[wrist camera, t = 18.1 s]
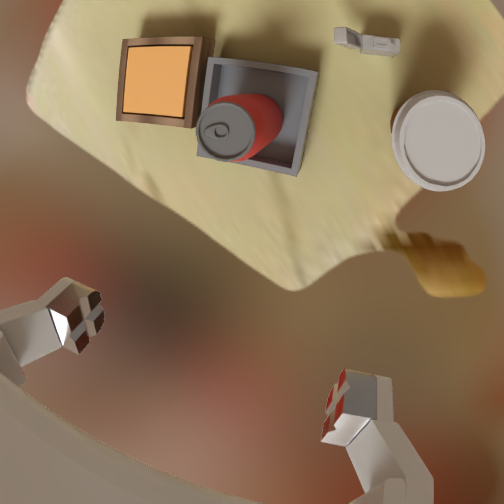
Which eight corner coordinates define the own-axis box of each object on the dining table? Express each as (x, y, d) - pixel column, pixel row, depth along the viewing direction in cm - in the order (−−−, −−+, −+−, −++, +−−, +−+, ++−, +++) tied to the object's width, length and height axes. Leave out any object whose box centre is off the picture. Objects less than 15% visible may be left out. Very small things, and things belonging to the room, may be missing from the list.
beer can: (231, 93, 36) (188, 97, 25) (284, 93, 34) (260, 95, 24) (232, 143, 39) (192, 166, 29) (283, 146, 37) (260, 169, 27)
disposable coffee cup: (455, 157, 32) (494, 186, 22) (387, 171, 36) (405, 204, 26) (439, 84, 29) (478, 84, 19) (368, 97, 32) (381, 99, 22)
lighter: (393, 44, 28) (406, 33, 21) (393, 57, 29) (407, 49, 22) (334, 39, 30) (333, 26, 23) (335, 52, 31) (334, 42, 24)
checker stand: (215, 40, 33) (202, 36, 30) (203, 124, 39) (190, 128, 36) (139, 41, 35) (122, 39, 31) (132, 116, 41) (116, 120, 37)
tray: (319, 73, 32) (317, 71, 29) (300, 169, 39) (296, 176, 36) (218, 59, 34) (208, 57, 31) (207, 150, 41) (196, 155, 38)
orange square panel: (194, 47, 32) (190, 46, 31) (186, 116, 36) (181, 117, 35) (134, 48, 33) (128, 47, 32) (128, 110, 38) (123, 111, 37)
